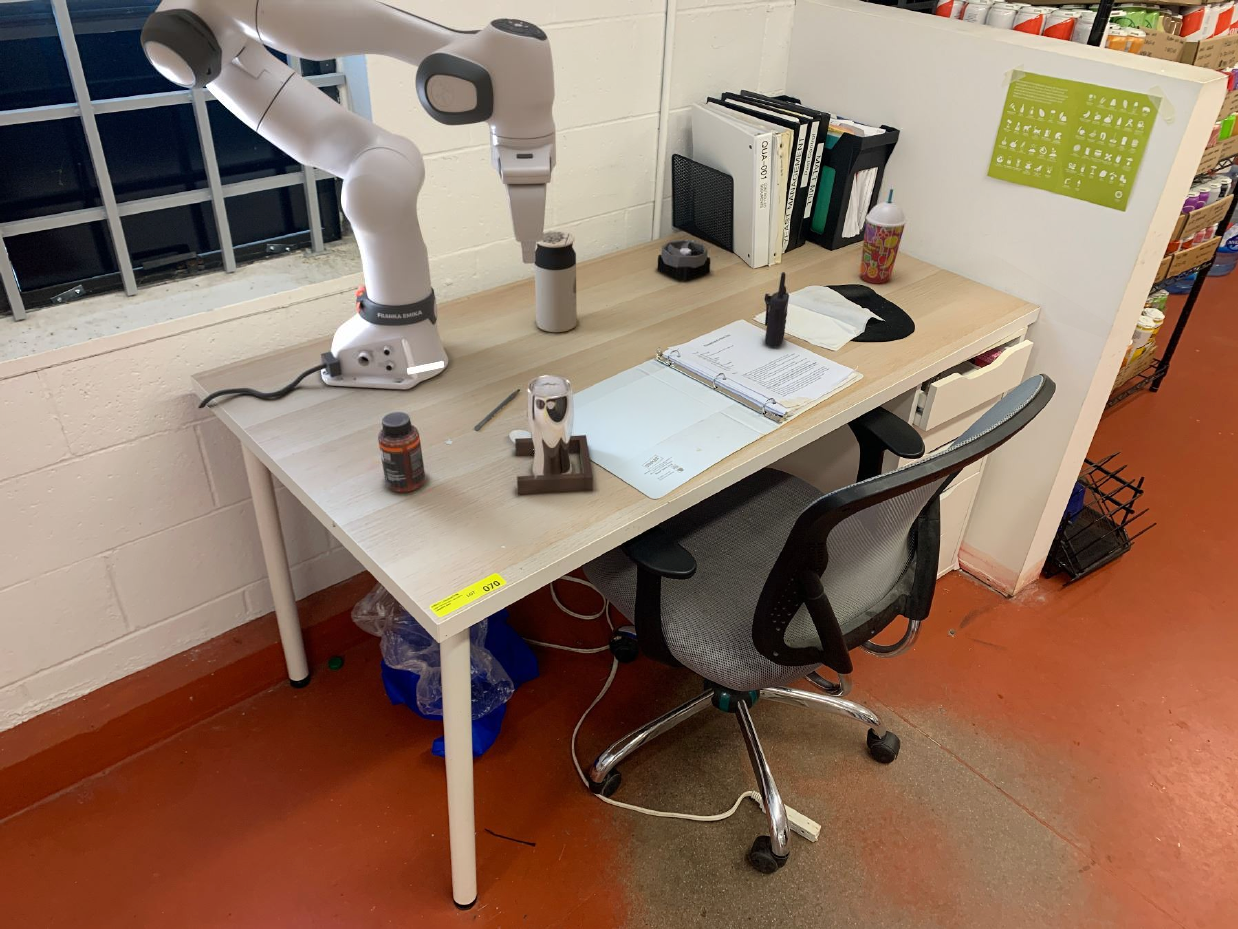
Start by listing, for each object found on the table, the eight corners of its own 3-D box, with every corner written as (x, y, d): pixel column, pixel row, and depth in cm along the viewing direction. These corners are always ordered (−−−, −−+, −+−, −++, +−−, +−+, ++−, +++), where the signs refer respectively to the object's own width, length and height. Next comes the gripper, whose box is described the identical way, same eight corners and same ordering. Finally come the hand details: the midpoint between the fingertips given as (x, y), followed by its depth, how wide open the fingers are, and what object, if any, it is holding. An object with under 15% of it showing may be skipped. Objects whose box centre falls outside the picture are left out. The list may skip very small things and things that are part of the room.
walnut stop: (517, 494, 135) (517, 481, 134) (515, 451, 144) (515, 438, 143) (592, 490, 136) (592, 476, 135) (586, 447, 146) (586, 434, 144)
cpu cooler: (683, 260, 195) (652, 245, 201) (681, 284, 198) (651, 270, 204) (717, 248, 200) (686, 235, 207) (715, 273, 204) (684, 259, 210)
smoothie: (848, 273, 205) (864, 184, 194) (881, 269, 207) (898, 181, 196) (867, 287, 199) (884, 197, 187) (901, 283, 201) (920, 194, 189)
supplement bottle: (428, 470, 140) (420, 407, 133) (422, 493, 135) (414, 429, 128) (389, 470, 139) (379, 407, 133) (382, 494, 135) (371, 429, 128)
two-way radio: (779, 350, 174) (789, 276, 165) (756, 346, 175) (765, 273, 167) (785, 337, 178) (794, 265, 170) (762, 334, 179) (771, 262, 171)
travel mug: (531, 330, 179) (527, 243, 168) (543, 313, 185) (540, 228, 175) (570, 335, 177) (568, 247, 167) (581, 318, 184) (580, 232, 173)
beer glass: (568, 486, 137) (567, 400, 128) (524, 480, 138) (519, 394, 129) (579, 460, 143) (578, 376, 134) (536, 454, 144) (533, 371, 135)
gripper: (499, 131, 132) (504, 223, 140) (501, 175, 115) (507, 277, 123) (542, 130, 133) (545, 222, 141) (551, 174, 116) (553, 276, 124)
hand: (527, 248), depth 132 cm, fingers open, 8 cm apart
